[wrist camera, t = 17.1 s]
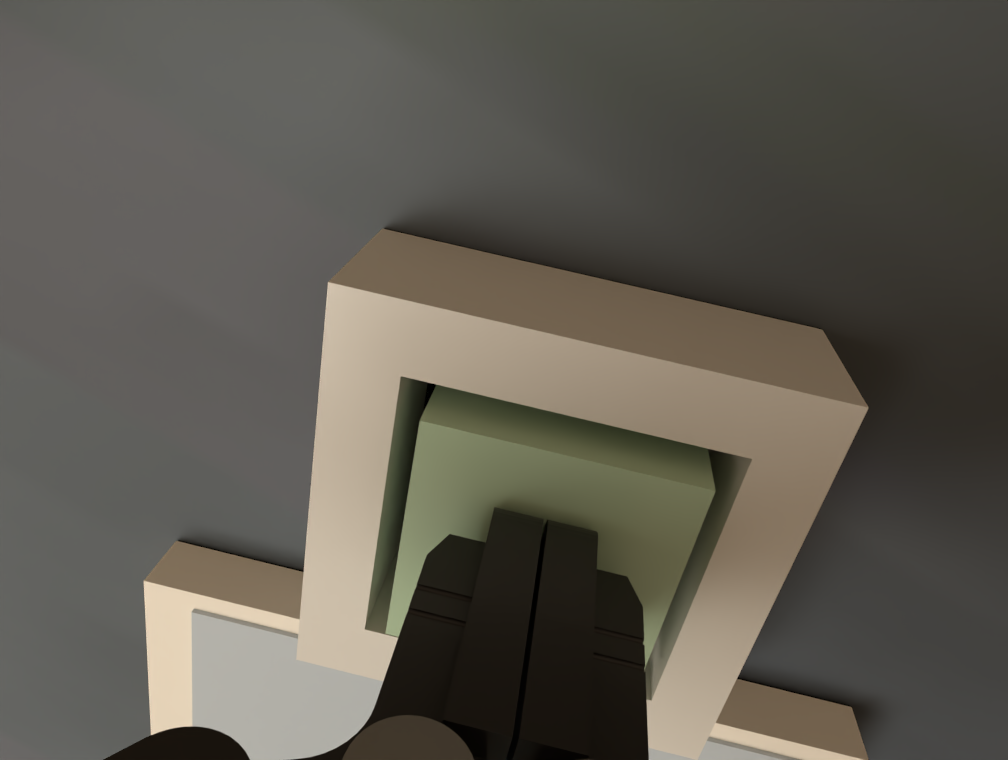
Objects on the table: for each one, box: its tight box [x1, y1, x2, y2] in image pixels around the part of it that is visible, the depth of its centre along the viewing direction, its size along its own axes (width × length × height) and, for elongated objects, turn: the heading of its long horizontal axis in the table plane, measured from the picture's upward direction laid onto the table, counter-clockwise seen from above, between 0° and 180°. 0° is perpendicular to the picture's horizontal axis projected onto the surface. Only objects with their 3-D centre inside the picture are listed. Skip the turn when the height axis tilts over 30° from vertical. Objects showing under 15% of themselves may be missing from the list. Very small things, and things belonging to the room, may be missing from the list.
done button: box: [385, 385, 716, 669], centre depth 12 cm, size 4×4×2 cm
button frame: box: [296, 229, 868, 760], centre depth 12 cm, size 7×7×2 cm
